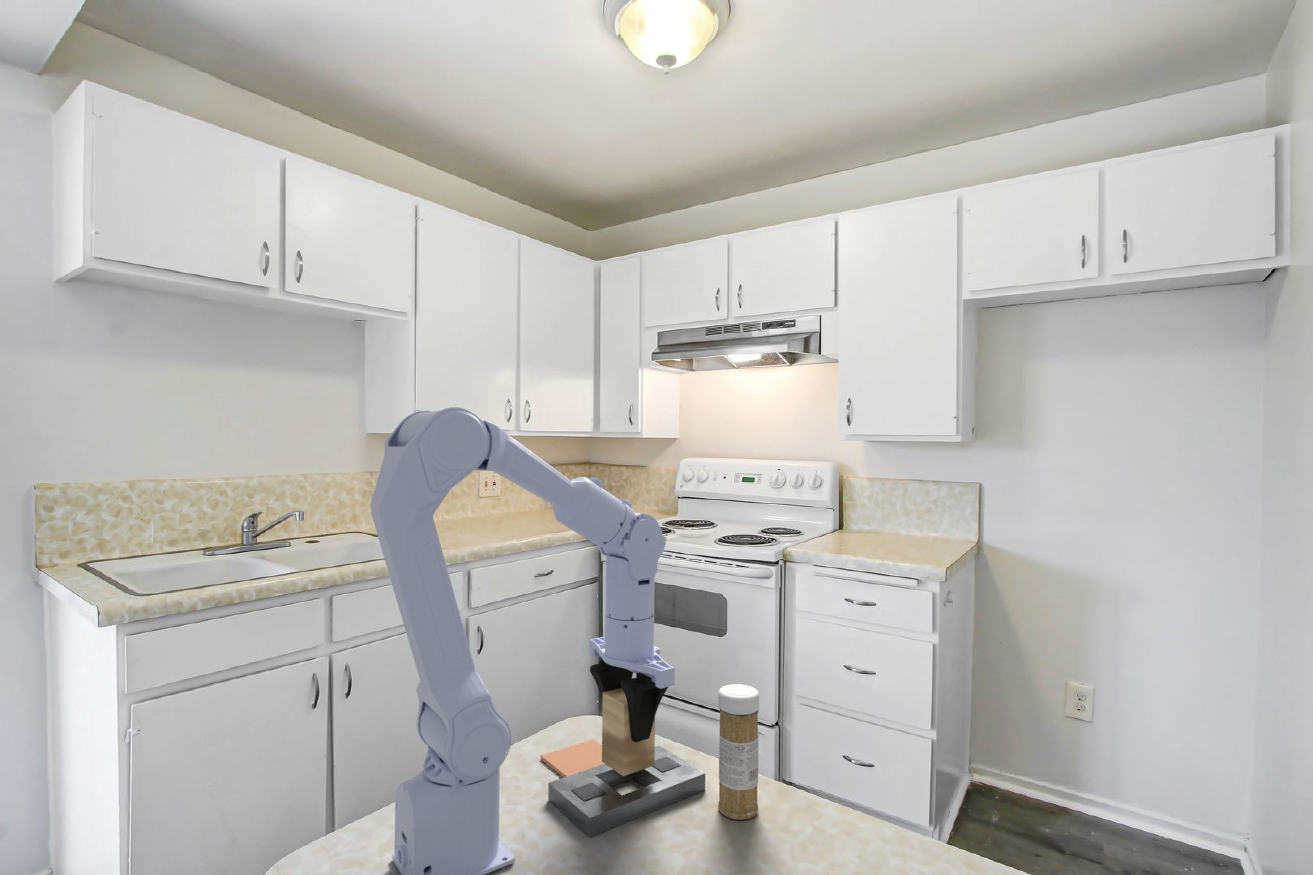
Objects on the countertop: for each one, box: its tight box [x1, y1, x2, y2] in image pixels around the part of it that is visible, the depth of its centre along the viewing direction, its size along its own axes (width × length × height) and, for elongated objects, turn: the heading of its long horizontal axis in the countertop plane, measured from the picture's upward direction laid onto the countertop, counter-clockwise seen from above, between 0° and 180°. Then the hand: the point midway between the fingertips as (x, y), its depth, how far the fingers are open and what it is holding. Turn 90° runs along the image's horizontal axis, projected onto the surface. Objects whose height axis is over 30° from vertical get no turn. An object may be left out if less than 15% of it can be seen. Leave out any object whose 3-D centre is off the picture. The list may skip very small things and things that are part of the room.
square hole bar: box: [547, 745, 706, 838], centre depth 77 cm, size 16×9×2 cm, turn 127°
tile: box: [540, 739, 605, 778], centre depth 85 cm, size 8×8×1 cm
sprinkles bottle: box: [717, 683, 760, 821], centre depth 74 cm, size 5×5×14 cm
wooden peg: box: [601, 688, 656, 776], centre depth 77 cm, size 4×4×8 cm
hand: (628, 731), depth 77 cm, fingers closed on wooden peg, 4 cm apart
